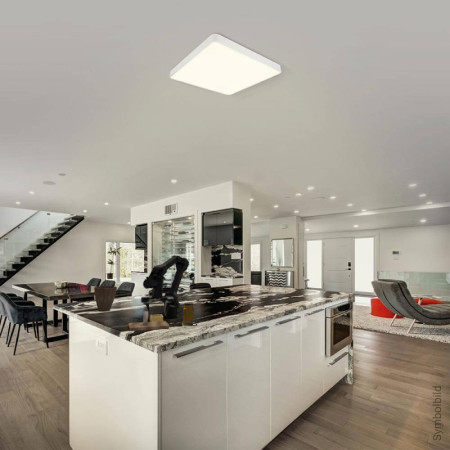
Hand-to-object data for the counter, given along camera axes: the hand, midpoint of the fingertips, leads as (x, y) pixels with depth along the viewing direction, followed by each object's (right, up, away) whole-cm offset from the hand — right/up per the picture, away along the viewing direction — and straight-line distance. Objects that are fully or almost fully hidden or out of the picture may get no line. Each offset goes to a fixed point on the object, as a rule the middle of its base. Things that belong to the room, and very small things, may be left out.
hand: (156, 314), depth 176 cm
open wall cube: (0, -4, -1) cm, 4 cm away
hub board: (-1, -3, -15) cm, 15 cm away
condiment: (+20, -4, -6) cm, 21 cm away
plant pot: (-43, -7, +30) cm, 53 cm away
